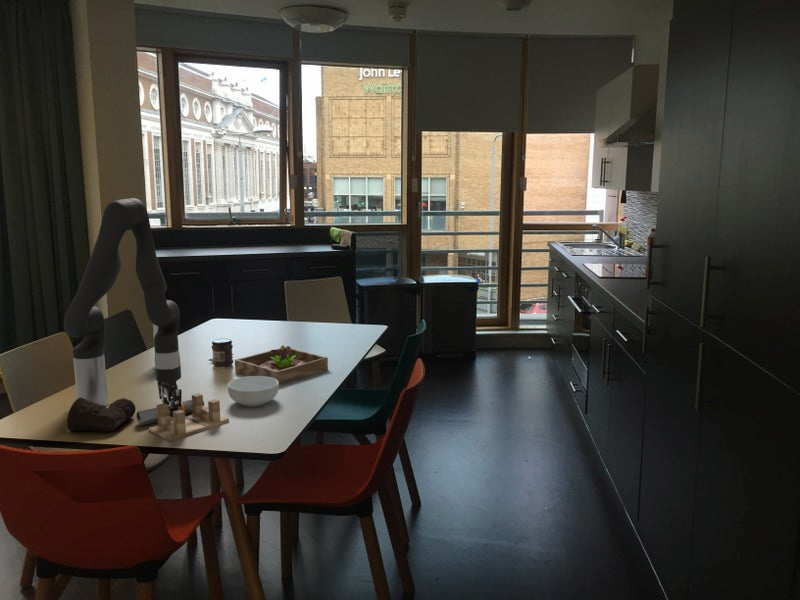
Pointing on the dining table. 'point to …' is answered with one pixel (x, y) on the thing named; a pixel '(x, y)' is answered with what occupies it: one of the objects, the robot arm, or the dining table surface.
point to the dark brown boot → (99, 415)
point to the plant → (282, 360)
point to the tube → (151, 414)
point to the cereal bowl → (253, 390)
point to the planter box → (253, 368)
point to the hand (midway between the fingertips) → (171, 415)
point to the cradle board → (188, 419)
